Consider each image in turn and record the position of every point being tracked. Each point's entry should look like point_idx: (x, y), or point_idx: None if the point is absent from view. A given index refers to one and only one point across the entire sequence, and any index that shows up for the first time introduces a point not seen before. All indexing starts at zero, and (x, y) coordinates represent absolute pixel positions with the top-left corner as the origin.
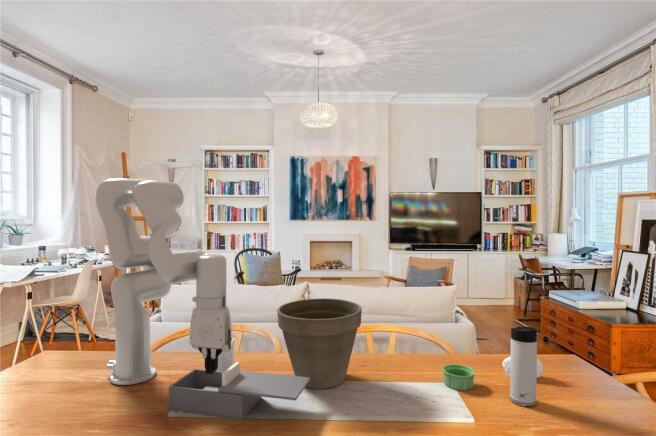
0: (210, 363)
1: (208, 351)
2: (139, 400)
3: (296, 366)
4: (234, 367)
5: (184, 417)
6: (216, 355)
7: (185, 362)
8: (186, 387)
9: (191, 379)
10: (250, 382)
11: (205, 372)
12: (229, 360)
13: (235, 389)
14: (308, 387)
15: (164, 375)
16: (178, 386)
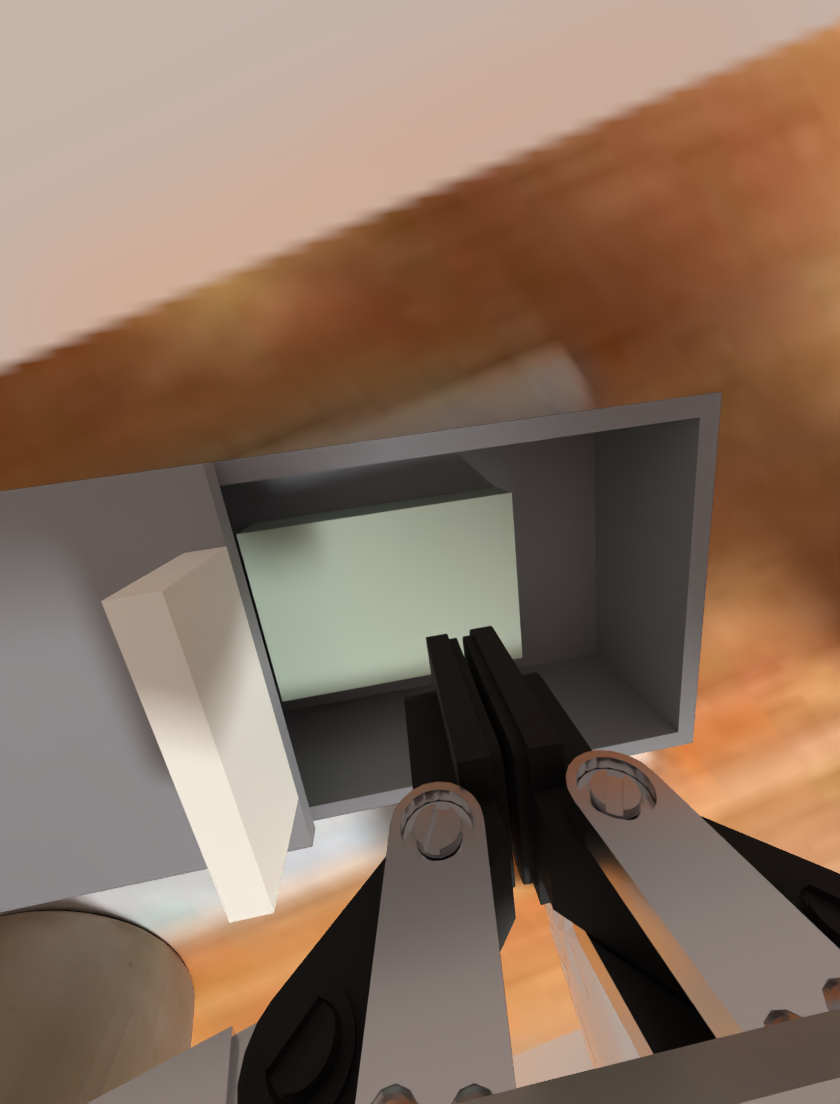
0: (453, 710)
1: (629, 930)
2: (822, 442)
3: (6, 1062)
4: (193, 809)
5: (461, 370)
6: (388, 884)
7: (805, 848)
8: (627, 585)
9: (645, 652)
10: (20, 708)
11: (493, 628)
12: (565, 936)
13: (16, 522)
14: (41, 911)
15: (836, 711)
16: (664, 504)
